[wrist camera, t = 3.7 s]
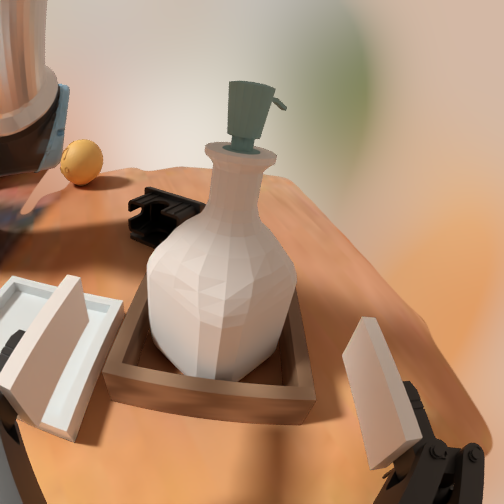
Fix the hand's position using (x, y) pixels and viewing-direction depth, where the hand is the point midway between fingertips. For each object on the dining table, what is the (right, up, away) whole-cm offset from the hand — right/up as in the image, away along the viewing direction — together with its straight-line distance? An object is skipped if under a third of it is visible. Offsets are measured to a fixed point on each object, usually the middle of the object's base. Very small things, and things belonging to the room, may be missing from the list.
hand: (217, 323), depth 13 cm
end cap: (-11, +5, +31) cm, 33 cm away
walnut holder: (-2, -6, +14) cm, 16 cm away
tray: (-19, -6, +9) cm, 22 cm away
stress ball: (-36, +18, +45) cm, 61 cm away
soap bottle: (-2, -6, +15) cm, 16 cm away
